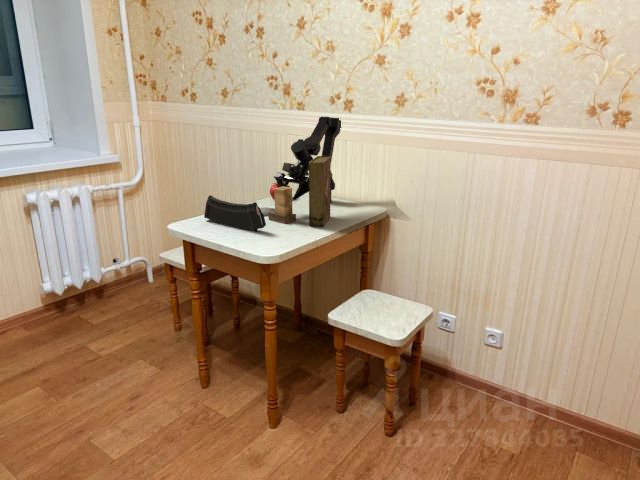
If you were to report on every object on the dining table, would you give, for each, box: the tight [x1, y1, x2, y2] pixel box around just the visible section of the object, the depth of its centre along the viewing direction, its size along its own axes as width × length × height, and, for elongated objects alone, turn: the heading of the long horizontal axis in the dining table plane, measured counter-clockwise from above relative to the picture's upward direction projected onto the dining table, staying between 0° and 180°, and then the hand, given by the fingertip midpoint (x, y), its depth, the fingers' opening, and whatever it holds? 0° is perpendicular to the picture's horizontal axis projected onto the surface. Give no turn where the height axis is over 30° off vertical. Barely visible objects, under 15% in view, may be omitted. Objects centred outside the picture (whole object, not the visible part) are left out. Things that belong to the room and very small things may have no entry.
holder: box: [268, 212, 297, 225], centre depth 193 cm, size 7×9×3 cm
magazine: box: [203, 195, 267, 233], centre depth 185 cm, size 17×3×30 cm
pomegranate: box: [269, 182, 291, 201], centre depth 227 cm, size 10×10×9 cm
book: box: [308, 155, 332, 228], centre depth 187 cm, size 16×6×25 cm, turn 168°
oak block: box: [274, 186, 294, 216], centre depth 192 cm, size 5×5×13 cm
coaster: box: [259, 207, 275, 217], centre depth 204 cm, size 11×11×1 cm
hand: (285, 198), depth 192 cm, fingers open, 9 cm apart
